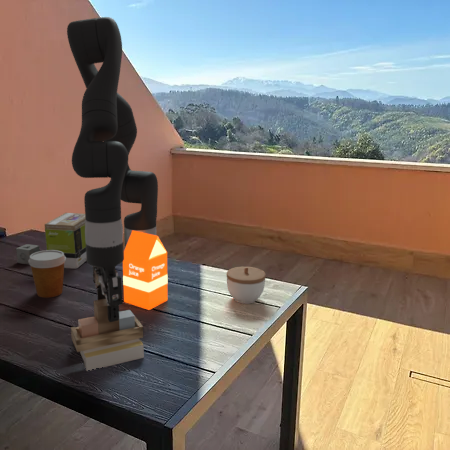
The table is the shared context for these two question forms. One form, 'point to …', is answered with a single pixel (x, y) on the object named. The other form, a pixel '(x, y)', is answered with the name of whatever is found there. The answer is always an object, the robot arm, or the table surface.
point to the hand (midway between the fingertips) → (108, 312)
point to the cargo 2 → (126, 320)
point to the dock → (112, 354)
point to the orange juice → (145, 271)
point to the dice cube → (26, 253)
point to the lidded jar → (245, 283)
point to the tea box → (68, 238)
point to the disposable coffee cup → (48, 272)
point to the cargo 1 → (88, 327)
